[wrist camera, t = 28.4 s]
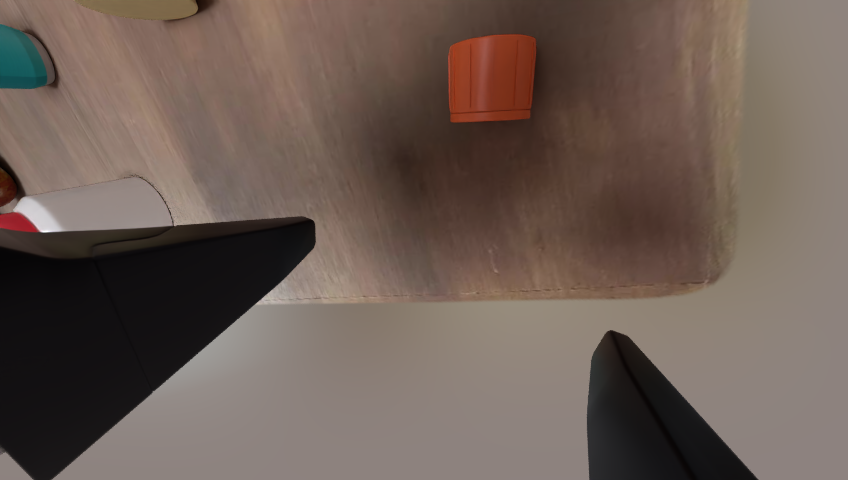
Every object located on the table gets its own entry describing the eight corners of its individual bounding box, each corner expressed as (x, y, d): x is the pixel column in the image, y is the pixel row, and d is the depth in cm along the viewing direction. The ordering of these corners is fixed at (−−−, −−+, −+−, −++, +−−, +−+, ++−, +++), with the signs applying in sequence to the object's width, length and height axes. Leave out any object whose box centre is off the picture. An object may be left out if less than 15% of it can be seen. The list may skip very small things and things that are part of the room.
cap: (532, 28, 12) (525, 119, 13) (539, 46, 15) (533, 117, 16) (437, 43, 13) (439, 123, 14) (462, 56, 17) (462, 120, 18)
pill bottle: (127, 210, 38) (-11, 245, 29) (126, 162, 34) (-37, 186, 25) (171, 250, 38) (45, 298, 29) (175, 206, 33) (28, 247, 24)
